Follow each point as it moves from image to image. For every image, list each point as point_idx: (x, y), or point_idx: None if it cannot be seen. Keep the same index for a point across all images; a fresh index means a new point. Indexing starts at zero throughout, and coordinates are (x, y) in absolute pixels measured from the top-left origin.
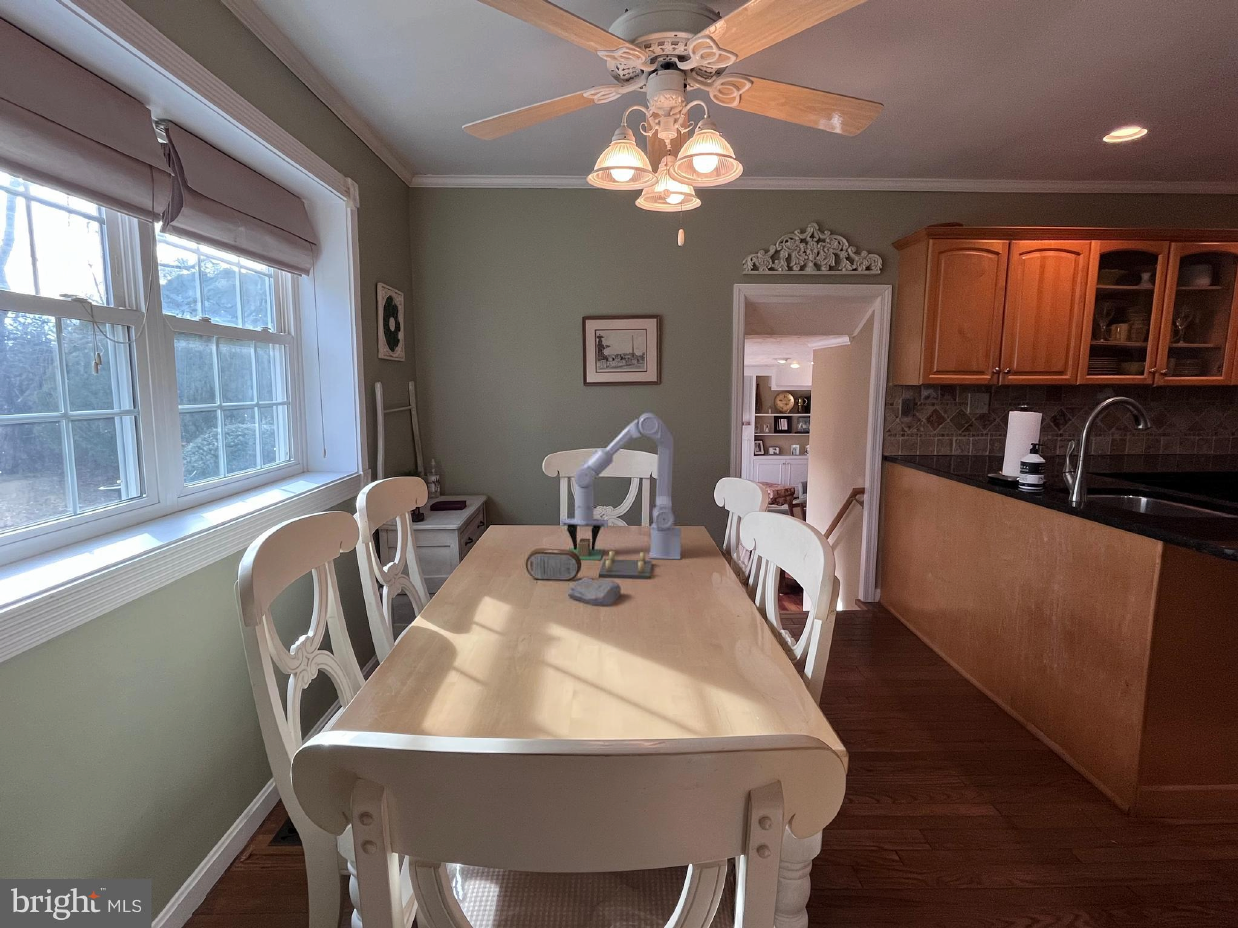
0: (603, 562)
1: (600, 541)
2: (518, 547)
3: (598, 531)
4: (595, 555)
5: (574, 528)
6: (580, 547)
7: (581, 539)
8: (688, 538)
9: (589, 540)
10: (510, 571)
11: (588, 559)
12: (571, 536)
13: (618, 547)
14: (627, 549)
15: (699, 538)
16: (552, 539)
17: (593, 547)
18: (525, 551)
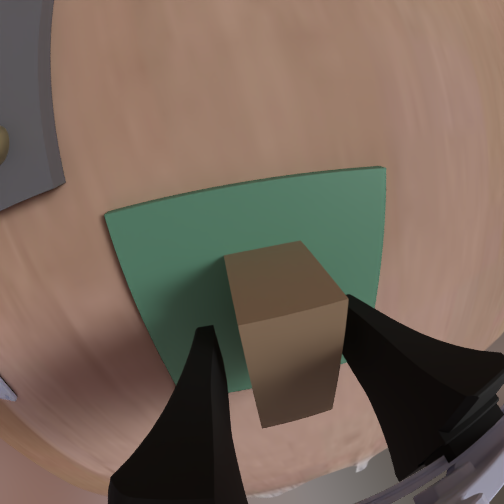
0: (36, 98)
1: (247, 450)
2: (496, 289)
3: (111, 483)
4: (178, 297)
5: (452, 426)
6: (308, 281)
7: (326, 396)
8: (46, 463)
9: (256, 403)
10: (485, 4)
11: (197, 191)
12: (434, 345)
13: (145, 427)
14: (96, 414)
15: (32, 460)
16: None
17: (195, 339)
18: (494, 256)
